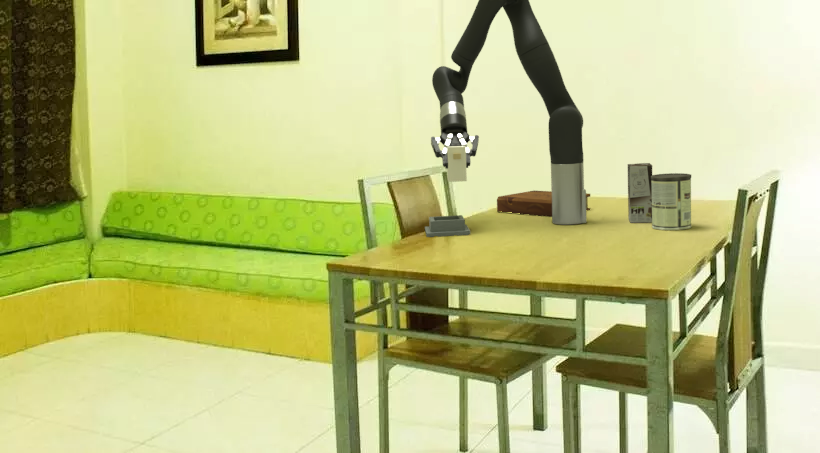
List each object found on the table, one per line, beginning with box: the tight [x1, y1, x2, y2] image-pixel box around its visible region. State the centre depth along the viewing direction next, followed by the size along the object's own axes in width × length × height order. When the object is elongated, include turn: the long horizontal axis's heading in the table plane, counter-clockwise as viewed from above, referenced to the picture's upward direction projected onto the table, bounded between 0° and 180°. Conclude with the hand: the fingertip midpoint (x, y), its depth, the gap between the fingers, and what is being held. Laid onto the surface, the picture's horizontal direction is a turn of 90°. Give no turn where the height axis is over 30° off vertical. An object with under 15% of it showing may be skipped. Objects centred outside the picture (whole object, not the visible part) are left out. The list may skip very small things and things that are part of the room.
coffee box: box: [627, 162, 653, 224], centre depth 243 cm, size 9×6×16 cm
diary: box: [496, 190, 591, 218], centre depth 273 cm, size 23×19×6 cm
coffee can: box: [651, 172, 692, 231], centre depth 228 cm, size 10×10×14 cm
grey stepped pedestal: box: [424, 214, 471, 238], centre depth 240 cm, size 12×13×4 cm
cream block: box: [446, 146, 468, 183], centre depth 237 cm, size 5×6×10 cm
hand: (457, 166), depth 236 cm, fingers closed on cream block, 5 cm apart
